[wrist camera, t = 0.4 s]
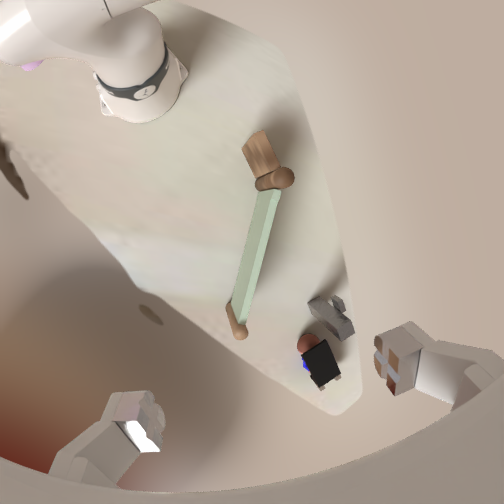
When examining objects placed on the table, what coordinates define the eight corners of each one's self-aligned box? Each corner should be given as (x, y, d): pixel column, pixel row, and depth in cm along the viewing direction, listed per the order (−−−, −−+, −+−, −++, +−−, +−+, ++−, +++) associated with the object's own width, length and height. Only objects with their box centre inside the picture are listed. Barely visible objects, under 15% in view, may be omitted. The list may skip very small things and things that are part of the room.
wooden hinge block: (238, 150, 51) (252, 132, 37) (252, 144, 51) (270, 124, 38) (259, 194, 53) (280, 190, 40) (272, 188, 53) (297, 182, 40)
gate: (254, 191, 52) (271, 187, 41) (266, 194, 53) (286, 191, 41) (224, 312, 55) (232, 338, 43) (236, 314, 56) (246, 341, 44)
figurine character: (332, 364, 65) (313, 323, 60) (346, 381, 58) (329, 341, 53) (309, 378, 65) (287, 340, 59) (322, 397, 57) (300, 359, 52)
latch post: (303, 293, 58) (332, 317, 45) (319, 284, 59) (351, 305, 45) (311, 314, 60) (341, 341, 46) (327, 305, 60) (359, 329, 46)
